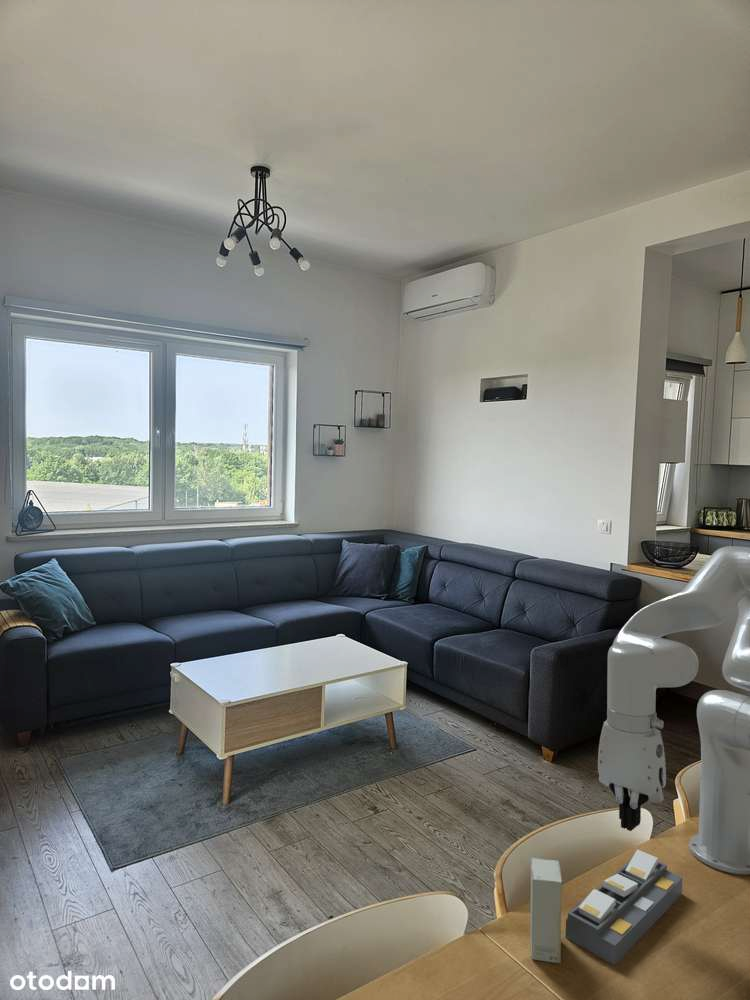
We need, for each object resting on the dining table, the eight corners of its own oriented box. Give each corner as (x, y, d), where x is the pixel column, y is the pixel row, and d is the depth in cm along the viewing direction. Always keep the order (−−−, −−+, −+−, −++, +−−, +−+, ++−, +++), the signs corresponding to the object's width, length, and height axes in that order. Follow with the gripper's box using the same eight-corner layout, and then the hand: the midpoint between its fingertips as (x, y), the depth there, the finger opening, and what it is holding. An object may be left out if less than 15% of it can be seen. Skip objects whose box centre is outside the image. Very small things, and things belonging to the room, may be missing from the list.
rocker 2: (616, 879, 111) (617, 873, 111) (637, 889, 108) (638, 882, 108) (603, 886, 108) (603, 880, 108) (624, 897, 105) (624, 890, 105)
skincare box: (560, 965, 96) (563, 884, 95) (530, 960, 96) (532, 879, 96) (557, 936, 102) (559, 859, 101) (528, 931, 103) (530, 856, 102)
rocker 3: (638, 853, 116) (637, 848, 116) (658, 862, 114) (657, 857, 114) (626, 874, 113) (625, 870, 113) (646, 884, 111) (645, 879, 110)
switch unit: (636, 873, 119) (637, 852, 119) (681, 894, 113) (682, 871, 113) (565, 937, 101) (566, 912, 101) (614, 965, 96) (615, 938, 96)
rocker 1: (594, 894, 106) (594, 888, 105) (615, 904, 103) (615, 898, 103) (578, 912, 102) (578, 906, 102) (600, 924, 100) (600, 918, 99)
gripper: (686, 725, 106) (684, 835, 106) (599, 702, 117) (598, 802, 117) (666, 738, 101) (665, 854, 101) (578, 713, 111) (577, 817, 112)
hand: (629, 826), depth 109 cm, fingers closed
